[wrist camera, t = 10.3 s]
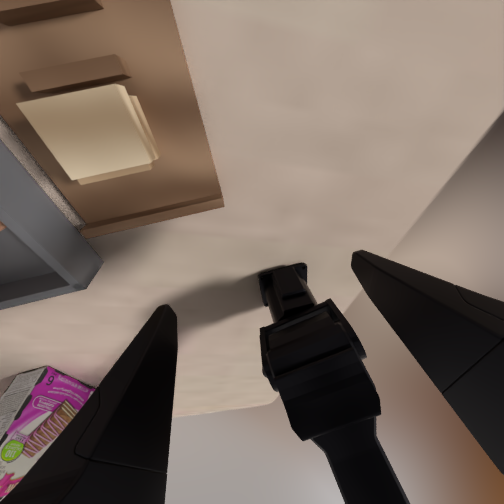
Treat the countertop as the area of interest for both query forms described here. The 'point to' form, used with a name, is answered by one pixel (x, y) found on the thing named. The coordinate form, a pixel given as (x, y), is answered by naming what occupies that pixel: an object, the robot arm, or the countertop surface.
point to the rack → (106, 73)
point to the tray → (37, 241)
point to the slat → (2, 226)
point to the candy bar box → (35, 419)
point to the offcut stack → (94, 132)
